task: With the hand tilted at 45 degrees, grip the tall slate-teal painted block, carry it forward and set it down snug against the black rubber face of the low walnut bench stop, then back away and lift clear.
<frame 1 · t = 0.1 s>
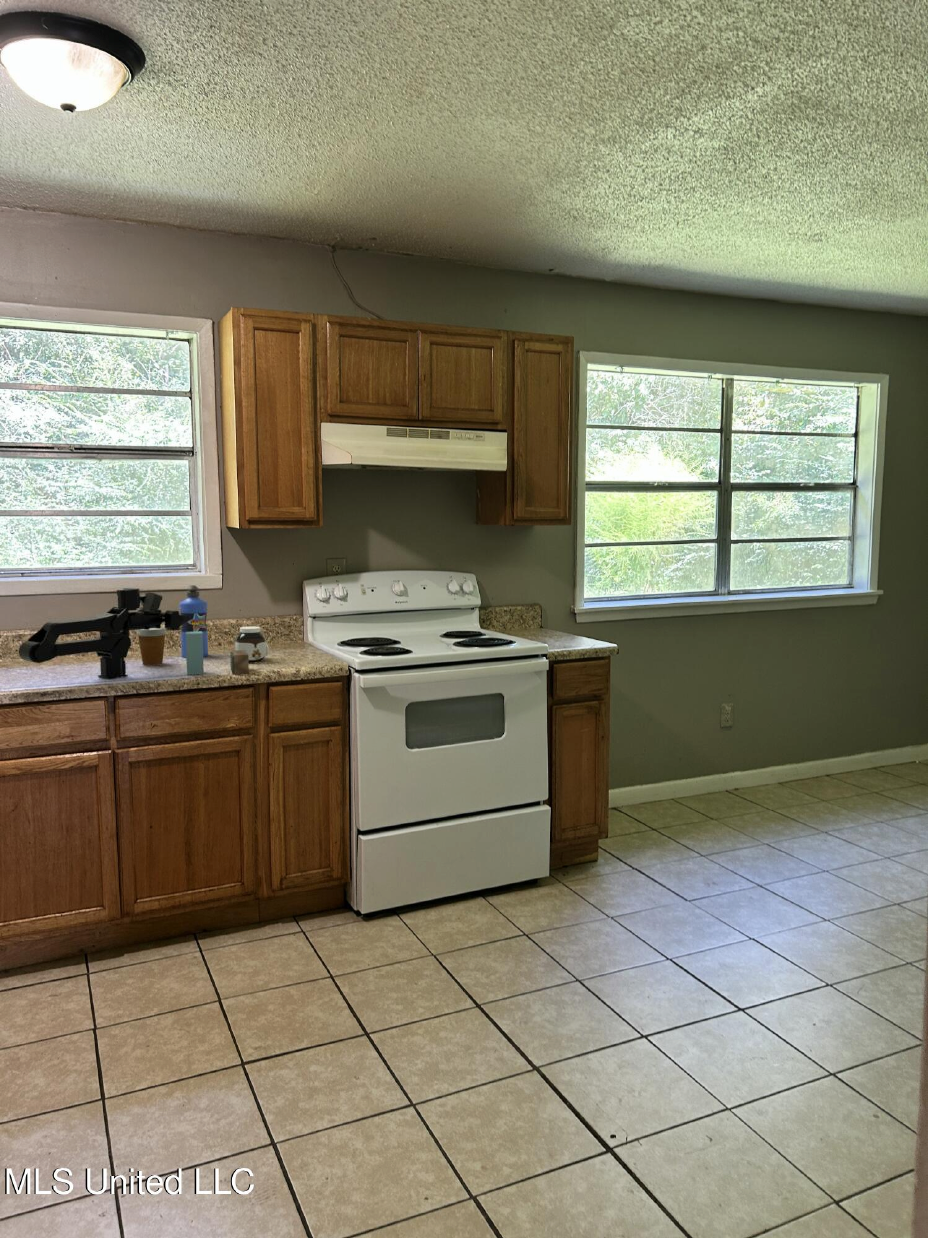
hand: (181, 616, 303), 17 cm above the countertop, tool horizontal, fingers open, 9 cm apart
bench stop: (239, 671, 296), on the countertop
teal block: (195, 673, 292), on the countertop
spread jar: (253, 661, 318), on the countertop
disposable coffee cup: (152, 664, 310), on the countertop
water bottle: (194, 656, 327), on the countertop
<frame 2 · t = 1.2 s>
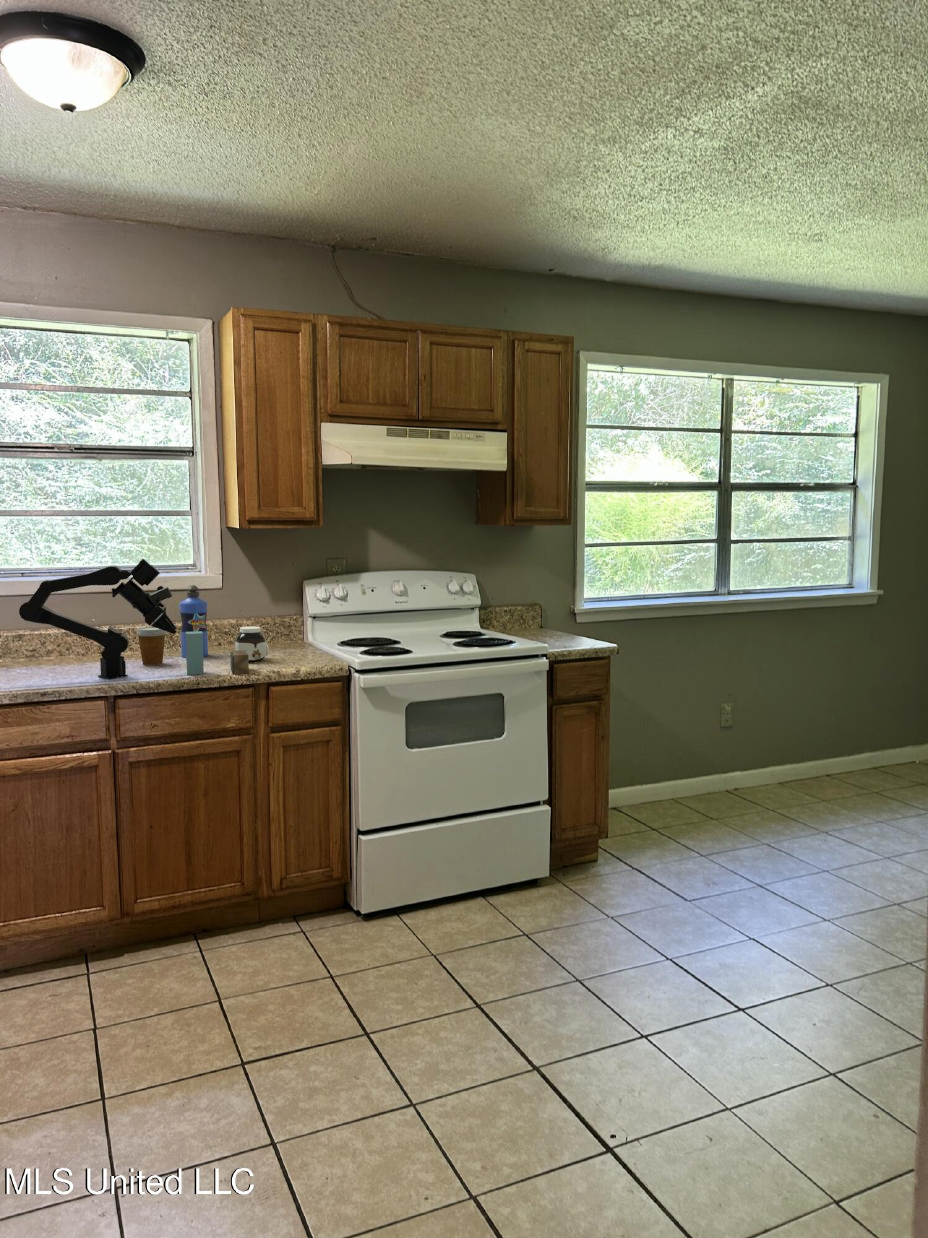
hand: (175, 631, 289), 14 cm above the countertop, tool tilted 45°, fingers open, 9 cm apart
nothing on the countertop moved.
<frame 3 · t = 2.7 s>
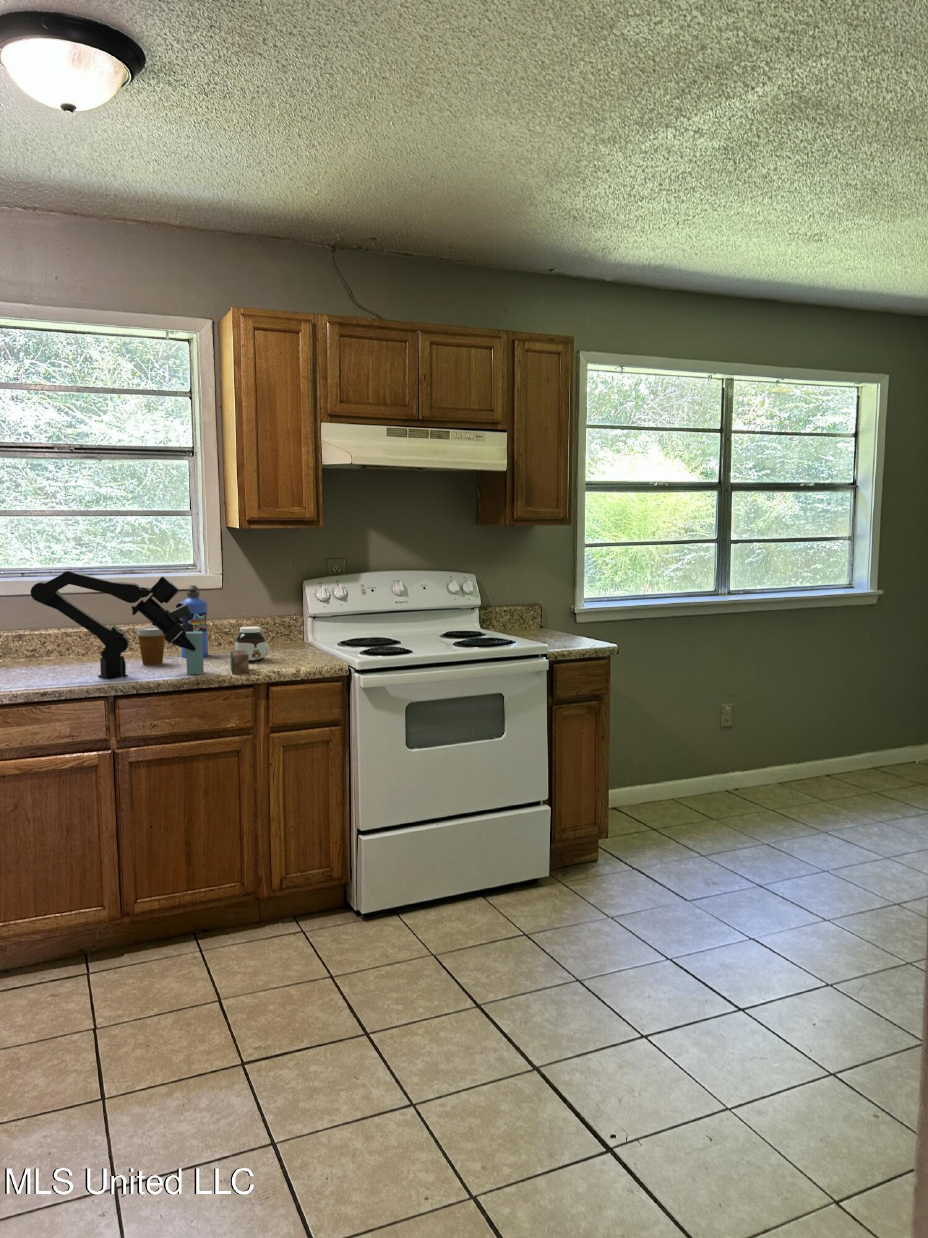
hand: (194, 647, 291), 8 cm above the countertop, tool tilted 45°, fingers open, 9 cm apart
nothing on the countertop moved.
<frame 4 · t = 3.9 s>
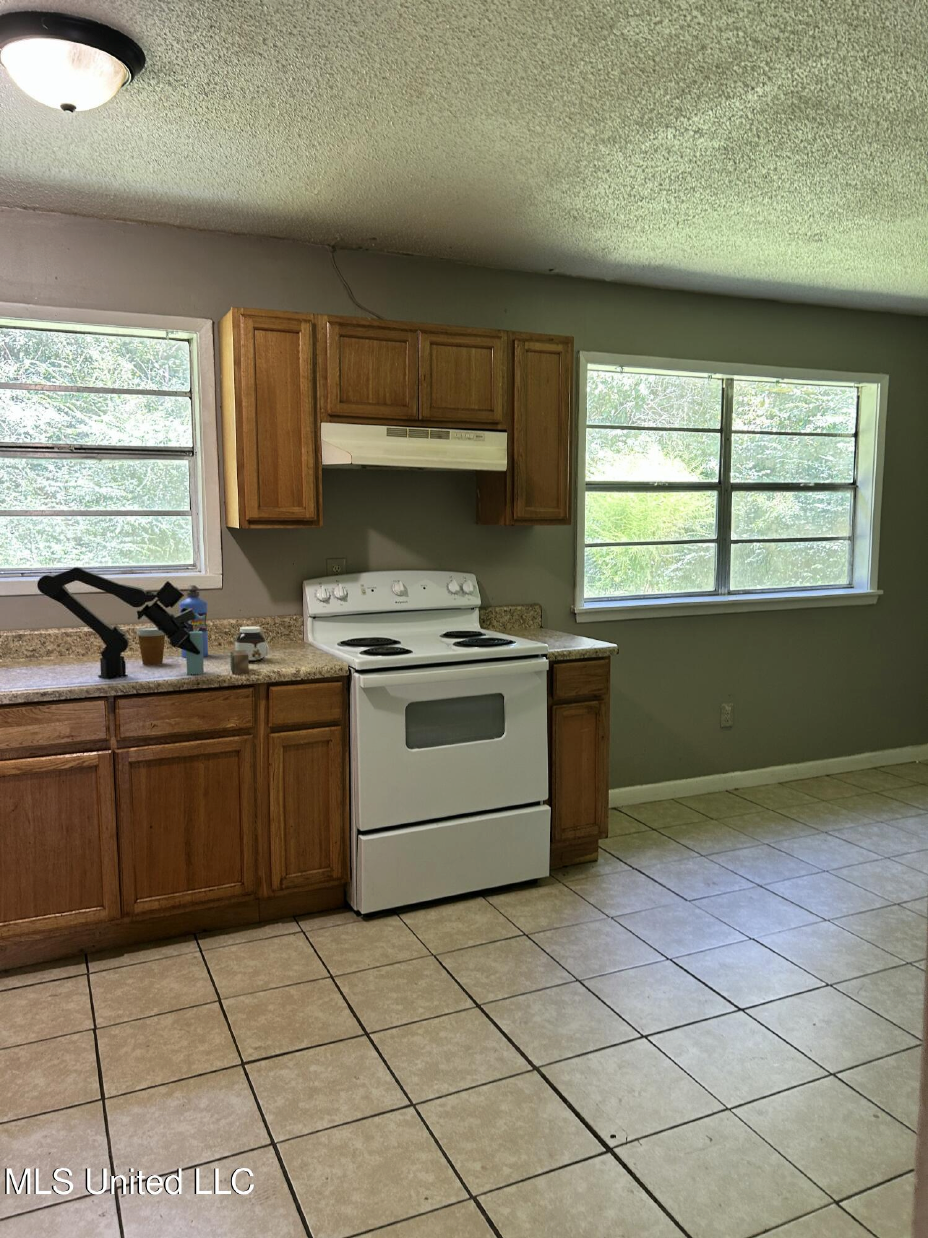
hand: (199, 652, 292), 7 cm above the countertop, tool tilted 45°, fingers closed on teal block, 5 cm apart
teal block: (195, 673, 292), on the countertop, touching gripper
everything else where it was.
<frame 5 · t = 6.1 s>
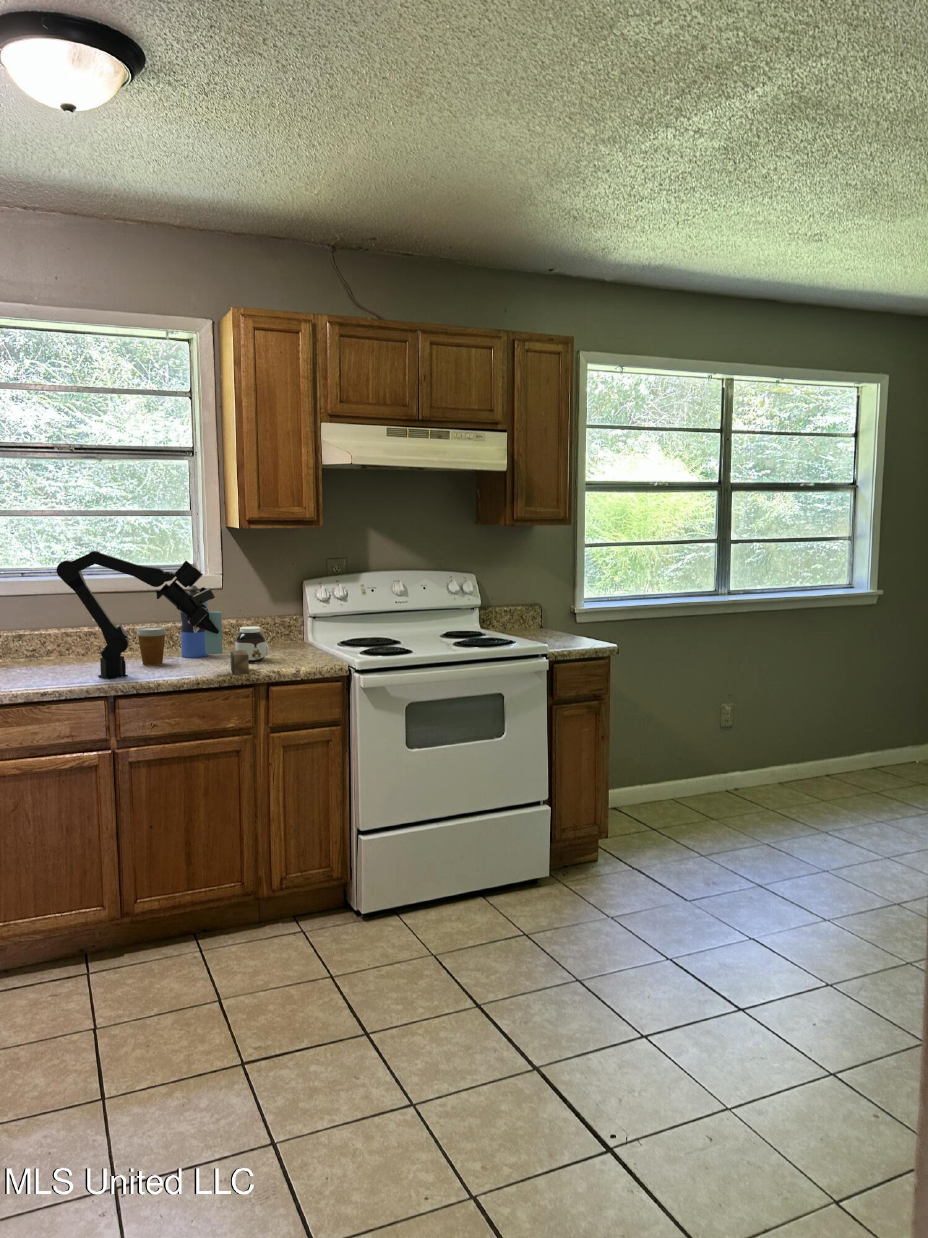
hand: (218, 631, 293), 13 cm above the countertop, tool tilted 45°, fingers closed on teal block, 5 cm apart
teal block: (214, 653, 293), point 6 cm above the countertop, touching gripper
everything else where it was.
when the fingers open (7 cm above the countertop, at t = 8.4 s): teal block stays where it is, on the countertop.
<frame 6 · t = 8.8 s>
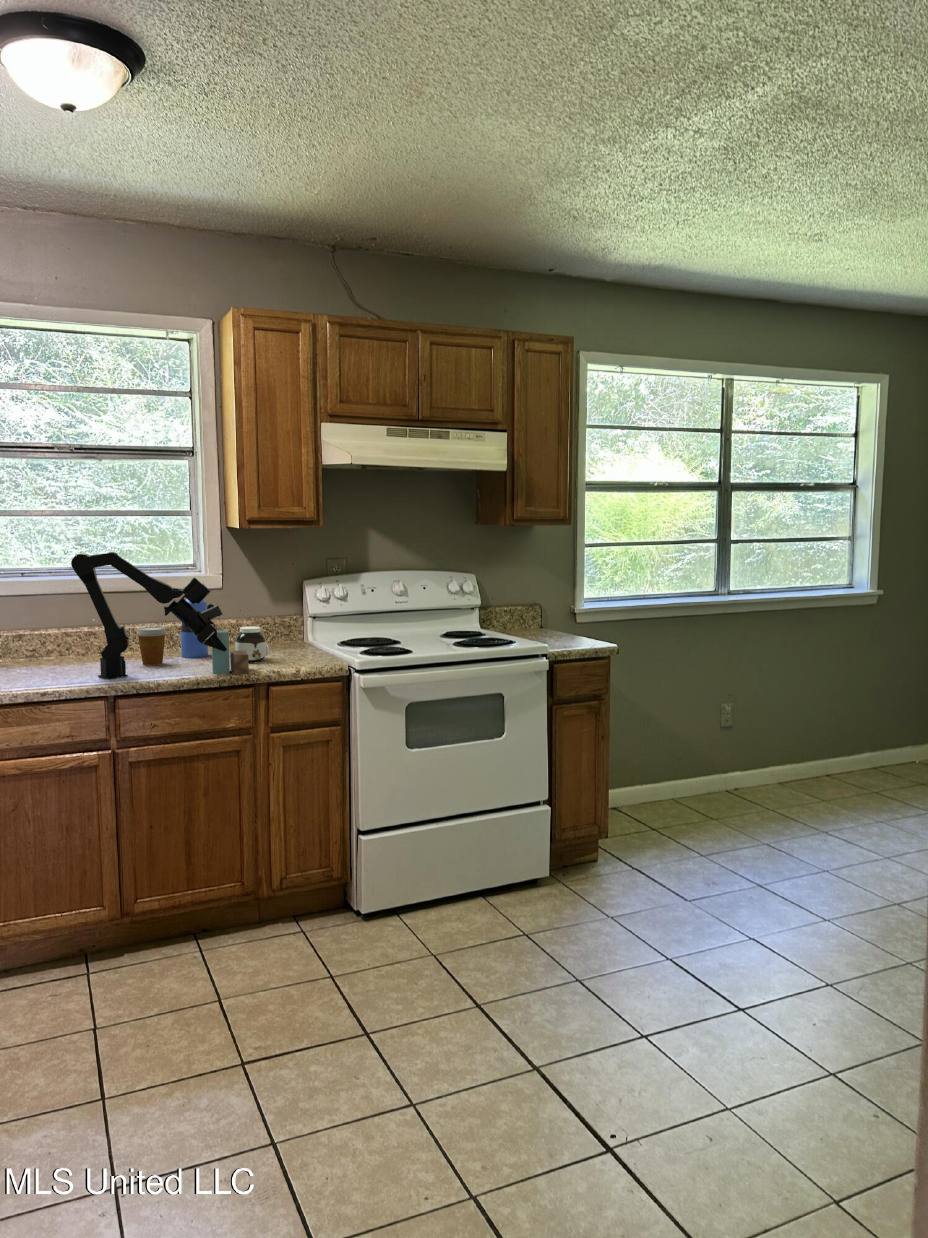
hand: (225, 648, 294), 8 cm above the countertop, tool tilted 45°, fingers open, 9 cm apart
teal block: (221, 672, 295), on the countertop
everything else where it was.
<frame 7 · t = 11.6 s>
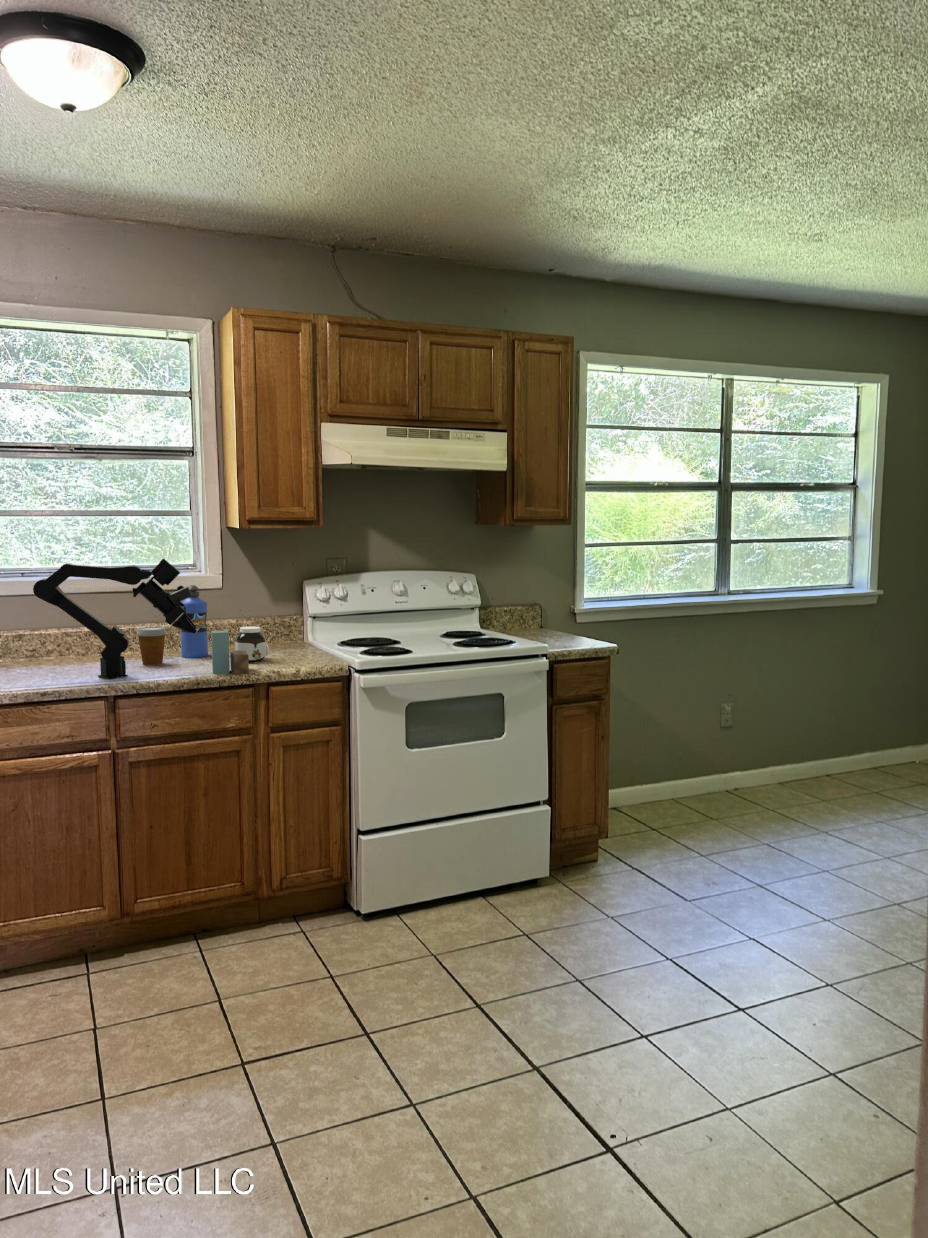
hand: (195, 630, 291), 14 cm above the countertop, tool tilted 45°, fingers open, 9 cm apart
nothing on the countertop moved.
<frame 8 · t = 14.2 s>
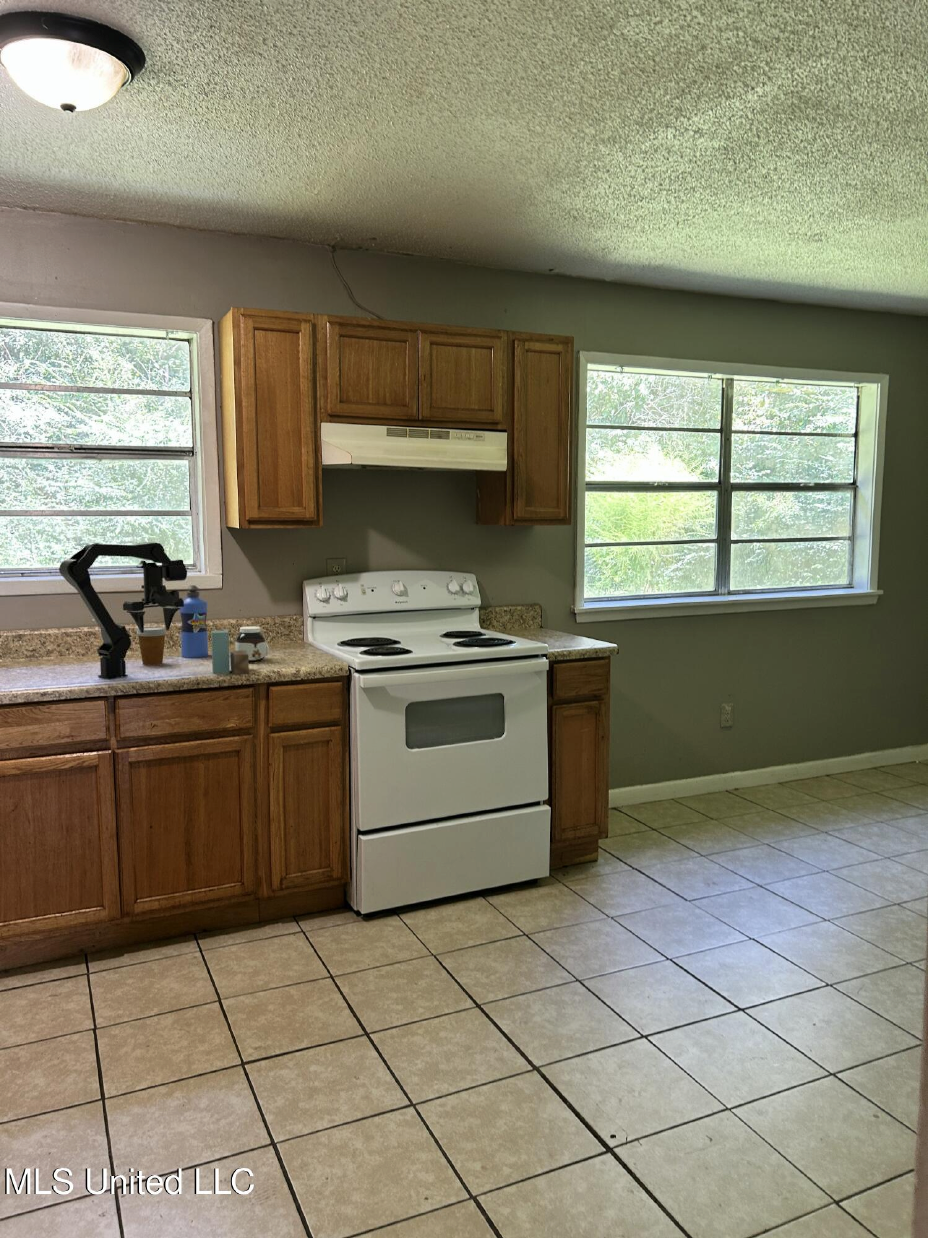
hand: (155, 631, 293), 13 cm above the countertop, tool pointing down, fingers open, 9 cm apart
nothing on the countertop moved.
at the end: teal block 5.8 cm from the bench stop (horizontally); teal block tilted 0°; the gripper is holding nothing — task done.
